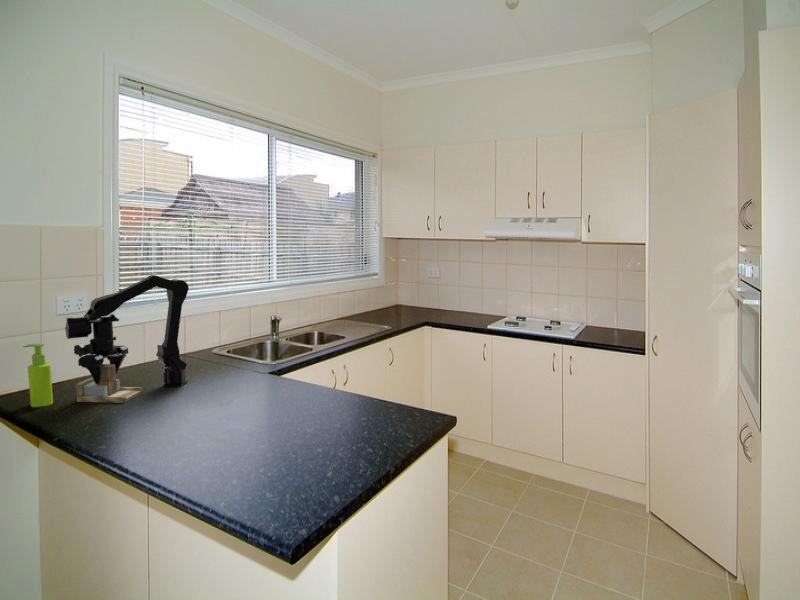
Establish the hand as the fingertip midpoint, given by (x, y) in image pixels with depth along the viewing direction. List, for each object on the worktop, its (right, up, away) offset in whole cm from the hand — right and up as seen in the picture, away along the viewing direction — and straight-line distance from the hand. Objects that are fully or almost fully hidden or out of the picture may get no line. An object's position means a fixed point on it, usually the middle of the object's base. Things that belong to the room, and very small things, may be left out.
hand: (106, 379), depth 165 cm
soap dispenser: (-17, -7, -8) cm, 20 cm away
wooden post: (0, -5, +1) cm, 5 cm away
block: (-2, -5, +1) cm, 5 cm away
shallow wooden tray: (+1, -6, +1) cm, 6 cm away
